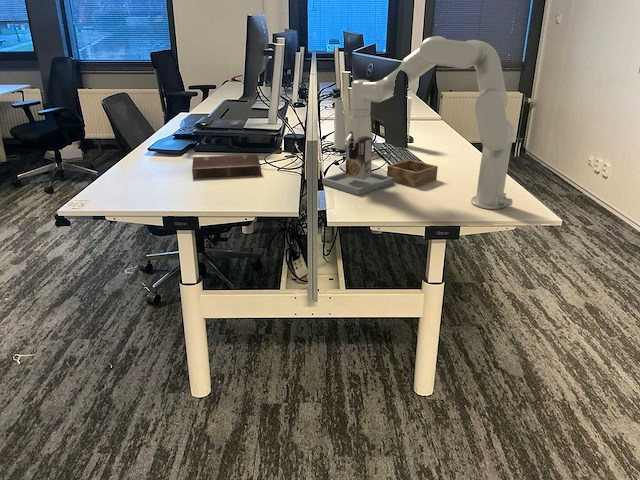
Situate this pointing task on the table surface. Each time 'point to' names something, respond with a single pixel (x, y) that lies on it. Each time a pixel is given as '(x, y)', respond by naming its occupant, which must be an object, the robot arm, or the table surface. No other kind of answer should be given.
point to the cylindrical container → (409, 113)
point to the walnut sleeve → (412, 173)
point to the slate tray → (357, 183)
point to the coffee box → (360, 160)
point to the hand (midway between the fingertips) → (359, 156)
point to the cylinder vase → (339, 125)
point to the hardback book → (226, 166)
